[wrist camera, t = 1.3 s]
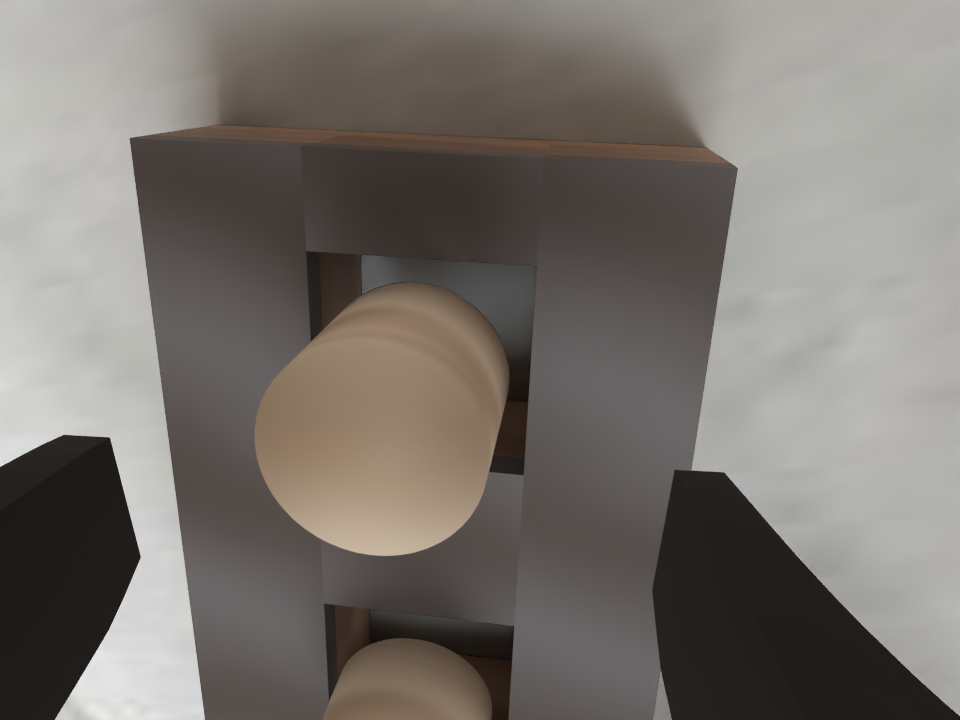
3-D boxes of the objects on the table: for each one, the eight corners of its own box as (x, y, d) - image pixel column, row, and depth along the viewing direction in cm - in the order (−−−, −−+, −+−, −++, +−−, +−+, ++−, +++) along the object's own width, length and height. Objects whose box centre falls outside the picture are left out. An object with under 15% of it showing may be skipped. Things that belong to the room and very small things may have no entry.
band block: (626, 727, 24) (633, 845, 21) (267, 679, 26) (213, 783, 22) (706, 147, 18) (737, 168, 14) (218, 124, 19) (129, 137, 15)
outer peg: (504, 467, 16) (484, 567, 13) (326, 449, 17) (263, 543, 14) (514, 289, 15) (493, 352, 12) (319, 275, 15) (245, 332, 12)
